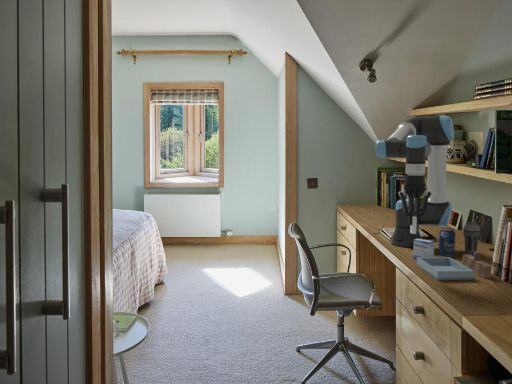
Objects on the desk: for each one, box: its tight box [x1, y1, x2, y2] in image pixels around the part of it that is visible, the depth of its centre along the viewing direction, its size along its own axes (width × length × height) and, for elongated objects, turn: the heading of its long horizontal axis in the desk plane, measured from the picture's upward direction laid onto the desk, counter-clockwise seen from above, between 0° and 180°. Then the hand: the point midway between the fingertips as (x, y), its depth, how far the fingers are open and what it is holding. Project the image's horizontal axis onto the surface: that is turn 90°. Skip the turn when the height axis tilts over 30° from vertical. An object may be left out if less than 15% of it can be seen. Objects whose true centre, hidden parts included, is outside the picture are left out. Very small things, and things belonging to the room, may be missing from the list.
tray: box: [416, 256, 474, 281], centre depth 202 cm, size 22×14×4 cm, turn 2°
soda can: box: [438, 227, 456, 257], centre depth 232 cm, size 7×7×12 cm
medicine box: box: [412, 238, 435, 260], centre depth 224 cm, size 8×4×9 cm, turn 45°
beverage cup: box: [463, 211, 481, 256], centre depth 231 cm, size 7×7×20 cm
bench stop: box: [462, 251, 492, 279], centre depth 202 cm, size 18×3×8 cm, turn 2°
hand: (413, 233), depth 200 cm, fingers closed
